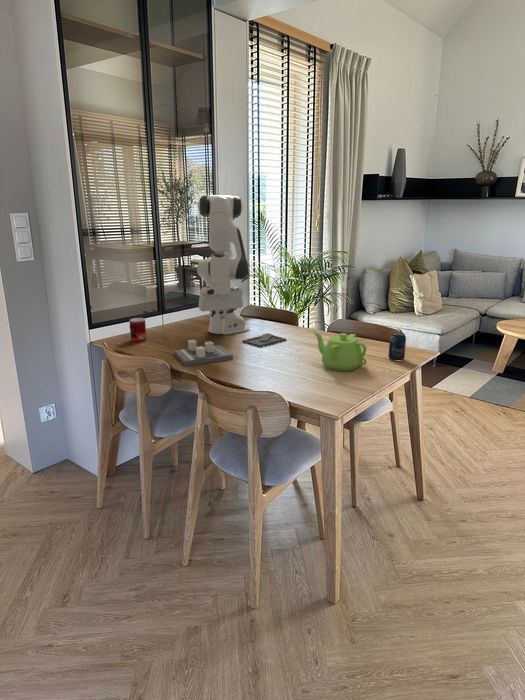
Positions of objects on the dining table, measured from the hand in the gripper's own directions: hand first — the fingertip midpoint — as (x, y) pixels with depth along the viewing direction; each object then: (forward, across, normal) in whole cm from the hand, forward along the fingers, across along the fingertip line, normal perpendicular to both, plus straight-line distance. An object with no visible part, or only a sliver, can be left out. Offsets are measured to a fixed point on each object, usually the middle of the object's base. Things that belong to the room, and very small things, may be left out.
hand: (221, 319), depth 222 cm
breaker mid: (+15, +6, 0) cm, 16 cm away
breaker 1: (+15, +12, -6) cm, 20 cm away
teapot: (+17, -40, +37) cm, 57 cm away
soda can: (+17, -68, +41) cm, 81 cm away
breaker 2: (+15, +12, +6) cm, 20 cm away
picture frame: (+18, -27, -11) cm, 34 cm away
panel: (+17, +9, 0) cm, 19 cm away
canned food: (+17, +30, -41) cm, 54 cm away
